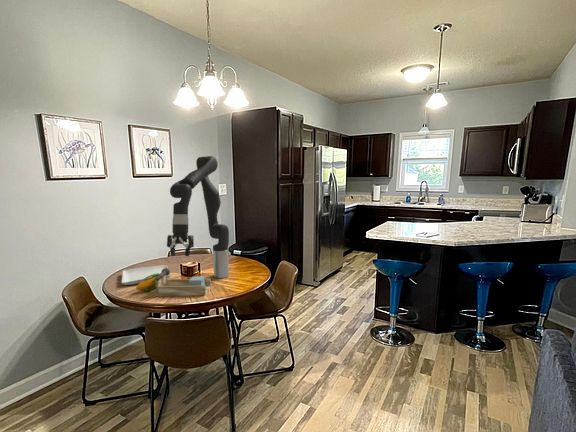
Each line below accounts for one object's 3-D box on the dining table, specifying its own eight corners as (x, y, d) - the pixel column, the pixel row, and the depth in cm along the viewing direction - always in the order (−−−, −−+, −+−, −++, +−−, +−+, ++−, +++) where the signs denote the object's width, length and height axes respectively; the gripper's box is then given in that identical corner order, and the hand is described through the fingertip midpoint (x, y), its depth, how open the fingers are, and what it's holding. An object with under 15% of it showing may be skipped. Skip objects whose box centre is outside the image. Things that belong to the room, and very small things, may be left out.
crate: (192, 286, 172) (192, 276, 171) (205, 286, 172) (204, 276, 171) (189, 291, 165) (188, 280, 165) (202, 291, 165) (201, 280, 165)
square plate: (122, 275, 200) (122, 269, 200) (167, 269, 213) (166, 264, 212) (121, 288, 176) (121, 281, 176) (171, 280, 189) (171, 274, 188)
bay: (163, 287, 176) (161, 268, 174) (211, 286, 176) (210, 267, 175) (153, 296, 162) (151, 275, 161) (205, 295, 163) (204, 274, 161)
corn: (168, 271, 181) (141, 281, 163) (169, 283, 182) (142, 295, 164) (158, 270, 184) (130, 281, 166) (159, 283, 185) (132, 294, 166)
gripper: (197, 223, 155) (196, 255, 154) (173, 223, 160) (173, 255, 159) (187, 223, 148) (187, 257, 147) (163, 223, 153) (163, 256, 152)
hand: (180, 256), depth 153 cm, fingers open, 8 cm apart
